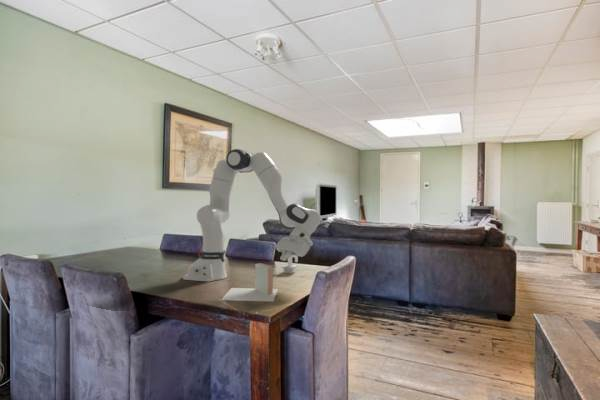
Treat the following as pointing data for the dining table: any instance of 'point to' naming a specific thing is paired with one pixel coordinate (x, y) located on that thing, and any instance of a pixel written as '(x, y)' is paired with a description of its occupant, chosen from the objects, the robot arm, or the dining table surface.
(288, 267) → the figurine
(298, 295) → the dining table surface
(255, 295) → the mat
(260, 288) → the tile
